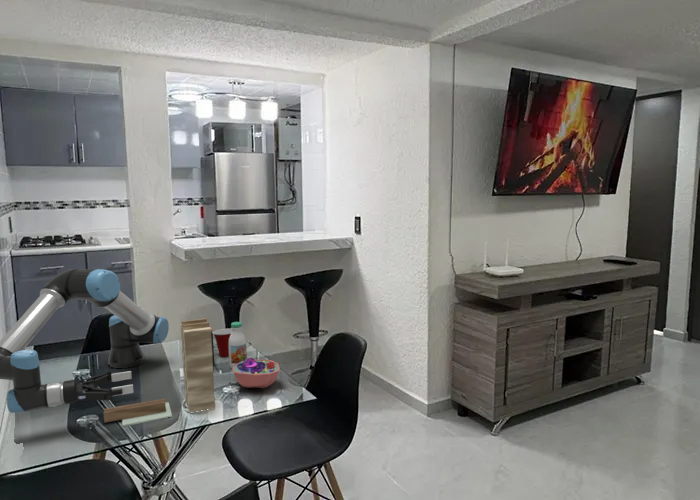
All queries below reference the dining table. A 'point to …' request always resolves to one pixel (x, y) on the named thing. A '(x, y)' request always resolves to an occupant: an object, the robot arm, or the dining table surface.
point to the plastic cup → (223, 341)
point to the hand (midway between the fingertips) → (132, 381)
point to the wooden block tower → (197, 365)
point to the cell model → (256, 372)
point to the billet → (134, 410)
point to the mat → (148, 417)
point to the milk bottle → (237, 345)
